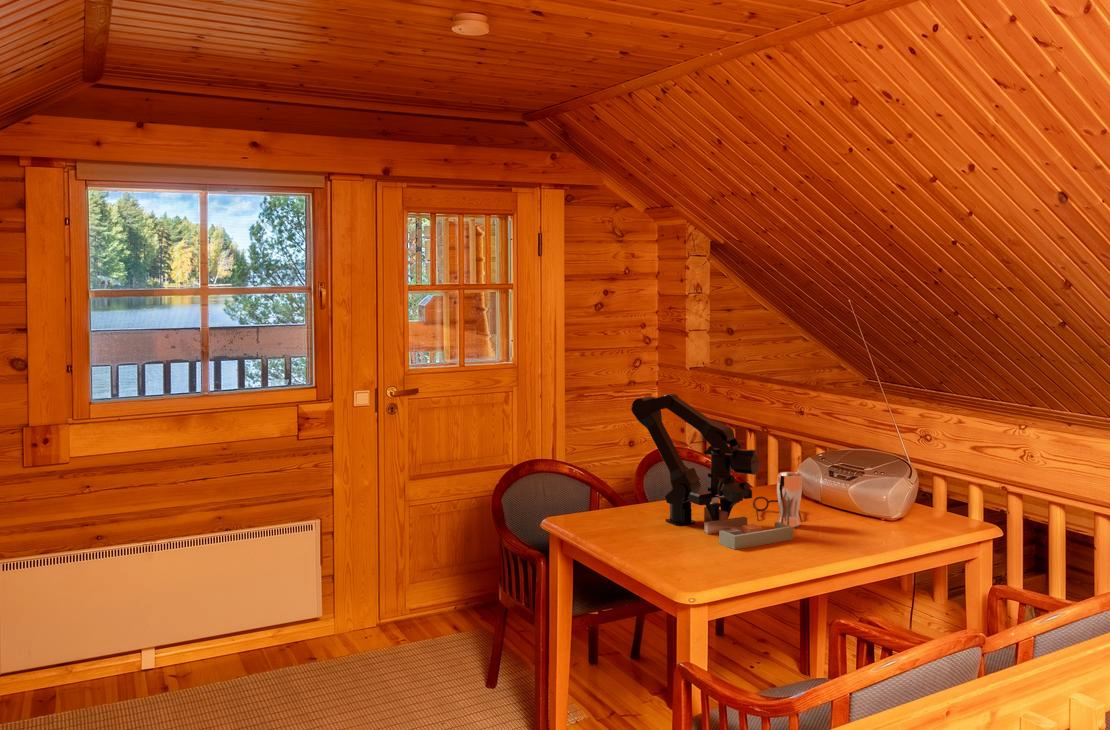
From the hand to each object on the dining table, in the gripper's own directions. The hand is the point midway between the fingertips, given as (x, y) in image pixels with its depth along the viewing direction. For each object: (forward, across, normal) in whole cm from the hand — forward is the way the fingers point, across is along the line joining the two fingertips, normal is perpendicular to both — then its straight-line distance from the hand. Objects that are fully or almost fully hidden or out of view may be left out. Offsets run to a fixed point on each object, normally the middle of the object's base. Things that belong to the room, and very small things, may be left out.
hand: (720, 524), depth 282 cm
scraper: (+1, 0, +1) cm, 2 cm away
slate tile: (+1, -4, -10) cm, 10 cm away
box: (+1, 0, -16) cm, 16 cm away
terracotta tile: (+1, +4, -10) cm, 10 cm away
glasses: (+2, +23, +3) cm, 24 cm away
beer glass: (+1, +19, -7) cm, 20 cm away
